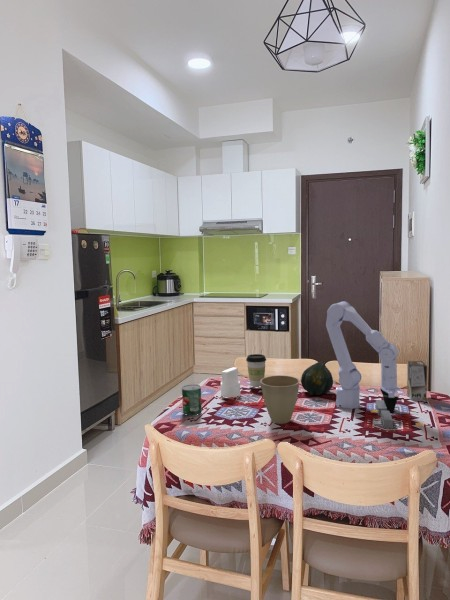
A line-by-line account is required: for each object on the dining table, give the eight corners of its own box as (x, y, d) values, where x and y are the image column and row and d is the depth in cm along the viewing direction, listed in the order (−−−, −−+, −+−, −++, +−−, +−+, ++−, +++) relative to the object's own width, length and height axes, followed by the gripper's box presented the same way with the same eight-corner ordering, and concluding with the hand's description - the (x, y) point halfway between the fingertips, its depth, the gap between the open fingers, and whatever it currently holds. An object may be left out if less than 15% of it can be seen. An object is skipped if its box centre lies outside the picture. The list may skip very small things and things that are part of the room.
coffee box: (427, 403, 191) (427, 366, 189) (410, 403, 192) (410, 365, 191) (422, 396, 200) (422, 360, 198) (406, 396, 201) (406, 360, 200)
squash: (292, 384, 207) (314, 360, 203) (298, 376, 221) (319, 354, 217) (315, 406, 204) (338, 383, 200) (321, 397, 218) (342, 375, 214)
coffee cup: (245, 389, 220) (244, 358, 219) (248, 383, 230) (247, 353, 229) (266, 389, 219) (265, 358, 217) (267, 383, 228) (266, 353, 227)
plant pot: (254, 417, 182) (253, 378, 180) (287, 411, 188) (286, 373, 186) (273, 430, 169) (272, 388, 167) (307, 423, 174) (307, 382, 173)
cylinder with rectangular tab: (228, 391, 218) (227, 366, 217) (244, 393, 213) (243, 368, 212) (217, 396, 211) (216, 370, 210) (233, 399, 206) (232, 373, 205)
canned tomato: (178, 413, 190) (177, 387, 189) (192, 408, 196) (191, 383, 195) (192, 417, 185) (190, 391, 184) (205, 412, 190) (204, 386, 189)
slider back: (378, 415, 176) (378, 408, 175) (375, 407, 186) (375, 399, 185) (386, 416, 175) (386, 408, 175) (383, 407, 185) (383, 400, 185)
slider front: (383, 427, 164) (383, 419, 164) (380, 417, 174) (380, 410, 173) (392, 428, 163) (392, 420, 163) (389, 418, 173) (389, 410, 173)
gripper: (402, 381, 170) (403, 416, 172) (397, 371, 184) (397, 404, 186) (382, 381, 172) (383, 416, 173) (378, 371, 186) (379, 403, 187)
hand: (389, 409), depth 180 cm, fingers open, 7 cm apart
